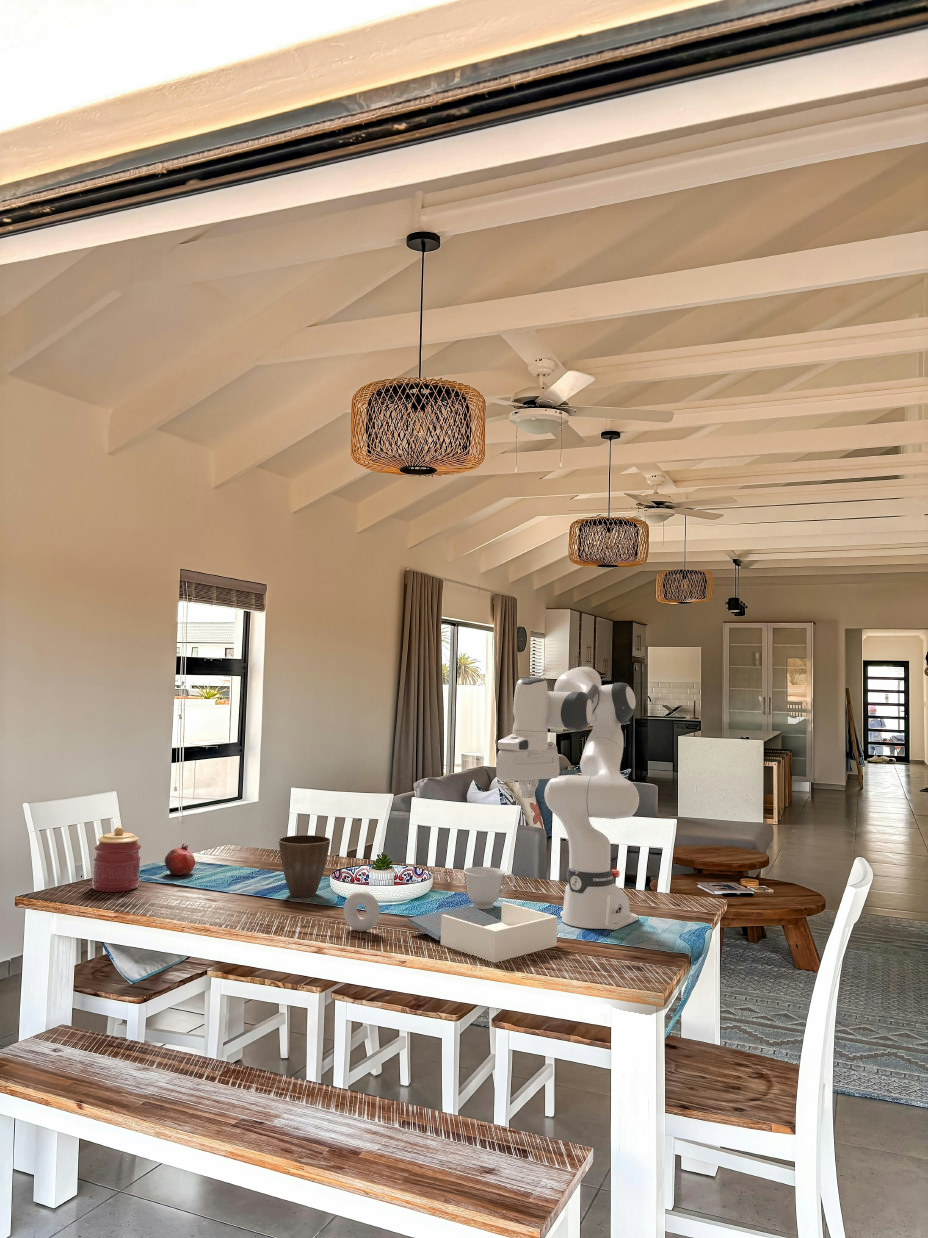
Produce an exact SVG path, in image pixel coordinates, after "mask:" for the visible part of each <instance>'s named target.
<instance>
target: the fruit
mask: <svg viewBox="0 0 928 1238" xmlns="http://www.w3.org/2000/svg"><path fill="white" fill-rule="evenodd" d="M188 848H189V845H188V844H187V845H185V843H183V844H182V845H181V847H178V848H174V849H171V850H170V851H168V853H167V855H165V858H164V866H165V868H166V869H167V871H168V872H169V876H171V877H172V876H188V875H190V874H191V873H192V872H193V870H194V868H195V866H196V858H195V855H194V854H193V852H191V850H189V849H188Z"/></svg>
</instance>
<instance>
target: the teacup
mask: <svg viewBox="0 0 928 1238" xmlns="http://www.w3.org/2000/svg"><path fill="white" fill-rule="evenodd" d="M463 873H464V875H465V880H466V881H465V882H466V890H467V891H466V893H467V895H468V899H469V900H470V901H471V902H472V903H473V905H472V906H473V907H475V908H477V909H479V910H490V908H491V909H493V908H494V904H495V903H497V902H498V900H499V898H500V896H501V895H502V893H504V892H506V891H509V890H511V889H513V887H515V884H516V878H515V876H514V874H512V873H509V872H508V873H506V871H505V870H504V869H501V868H497V867H492V866H490V867H489V866H471V867H467V868H465V869H464V870H463ZM508 878H511V883H510V884H509V885H508V886H506V887H504V888H502V883H503V882H506V881H507V879H508Z"/></svg>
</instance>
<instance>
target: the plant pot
mask: <svg viewBox="0 0 928 1238" xmlns="http://www.w3.org/2000/svg"><path fill="white" fill-rule="evenodd" d="M330 844H331V838H330V837H327V836H321V835H311V834H310V835H309V834H308V835H307V834H304V835H303V834H301V835H299V834H298V835H289V836H288V835H287V836H284V837H281V838H279V840H278V845H279V854H280V860H281V862H280V863H281V866H282V867H281V868H282V871H283V875H284V879H285V883H286V886H287V889H288V892H289V895H290V896H291V897H294V898H310V897H311V898H312V897H314V896H315V895H317V891H318V890H319V886H320V884H321V881H322V879H323V875H324V872H325V868H326V866H327V865H326V863H327V861H328V855H329V850H330Z"/></svg>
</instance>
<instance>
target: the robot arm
mask: <svg viewBox="0 0 928 1238" xmlns="http://www.w3.org/2000/svg"><path fill="white" fill-rule="evenodd" d="M553 688H554V689H553V690H551V691H549V690H548V684H547V680H546V679H545V678H542V677H535V676H534V677H532V676H530V677H523V678H520V679H518V680H517V681H516V686H515V689H514V695H513V696H514V697H513V707H512V713H513V717H514V722H513V725H512V733H511V734H509V735H507V736H506V737H503V738H502V739H500V740H498V741H497V748H498V750H499V751H498V753H497V756H496V763H495V765H496V768H495V769H496V770H495V771H496V773H495V774H496V777H497V780H499V781H501V782H518V785H519V788H520V790H521V797H522V799H534V798H535V795H536V790H537V788H538V786H539V780H548V779H549V780H548V782H547V784H546V785H545V788H544V802H545V804H546V806H547V808H548V809H549V810H550V811H551V812H552V813H553V814H554V815H555V816H556V817H557V818H558V819H559V820H560V822H561V823H562V825H563V827H564V829H565V832H566V835H567V840H568V853H569V855H568V856H569V857H568V858H569V859H568V863H569V865H568V867H567V871H566V881H567V882H568V883H567V884H566V886H565V889H564V890H565V891H564V897H563V907H562V910H561V911H560V914H559V916H560V917H561V921H562V923H564V924H566V925H569V926H573V927H578V928H582V929H601V930H603V929H605V930H618V929H621V928H623V927H625V926H627V925H630V924H631V923H634V922H635V921H638V920H639V916H638V915H637V914H636V913H634V912H630V900H629V897H628V896H627V894H626V893H625V892H623V890H622V889H620V888H619V887H618V885H616V883H615V880H614V878H616V879H617V878H619V877H620V875H621V873H620V870H619V869H611V849H612V848H611V846H612V845H611V842H610V840H609V838H608V836H607V835H606V834H604V833H603V832H601V831H600V830H598V829H596V828H595V827H594V826H593V825H592V824H591V821H590V818H596V819H597V818H598V819H608V820H619V819H626V818H631V817H632V816H633V815H634V814H635V813H636V812H637V810H638V808H639V804H640V794H639V791H638V788H637V787H636V785H635V784H634V783H633V782H632V781H631V780H628V779H627V778H625V777H624V775H622V773H621V762H622V760H623V759H622V758H623V755H624V754H623V753H624V744H625V743H624V733H623V731H622V727H621V726H622V725H623V726H625V725H627V724H628V723H629V721H630V718H631V717H632V716H633V714H634V712H635V710H636V706H637V701H636V696H635V693H634V691H633V689H632V687H631V686H630V685H629V684H628V683H625V682H614V683H612V684H604V685H602V679H601V675H600V673H598V671H597V670H595V669H594V668H592V667H590V666H578V667H575V668H574V667H573V668H571V669H570V670H567V671H566V672H564V673H563V674H561V675H559V677H558V678H557V679H556V681H555V684H554V687H553ZM590 726H592V730H591V732H590V733H589V736H588V737H587V740H586V742H585V744H584V748H583V750H582V751H583V752H582V755H581V759H580V762H579V767H580V772H581V773H582V775H577V774H576V775H575V774H566V775H565V774H564V775H560V758H559V757H560V756H559V753H558V746H557V745H556V743H555V742H554V741H548V736H549V734H548V731H549V730H548V729H552V730H569V731H572V732H573V731H574V732H582V731H584V730H586V729H587V728H588V727H590ZM528 785H529V786H528Z"/></svg>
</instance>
